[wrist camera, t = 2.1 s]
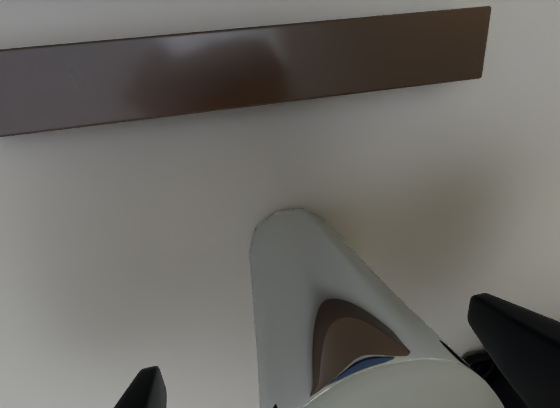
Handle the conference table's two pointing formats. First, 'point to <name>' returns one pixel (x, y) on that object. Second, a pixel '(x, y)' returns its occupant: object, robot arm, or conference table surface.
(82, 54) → the bar
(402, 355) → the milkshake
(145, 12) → the conference table surface
